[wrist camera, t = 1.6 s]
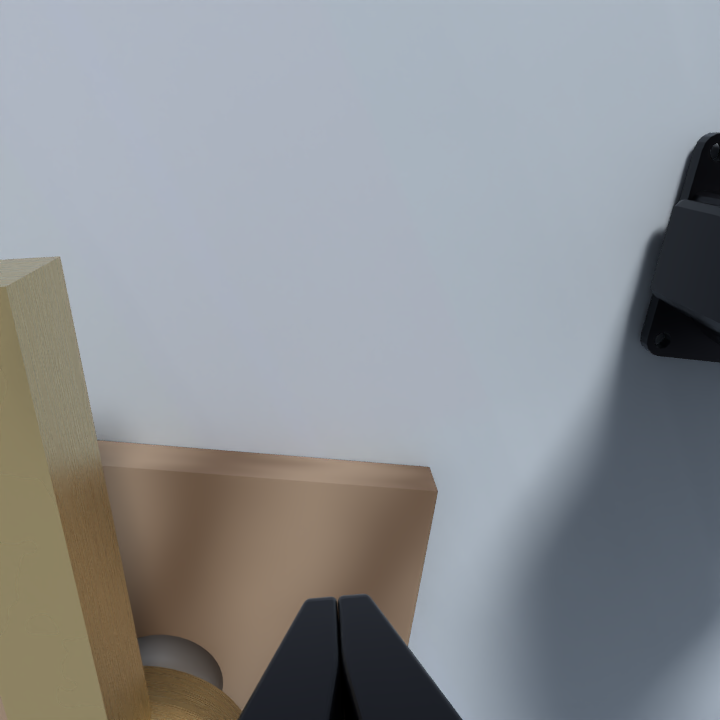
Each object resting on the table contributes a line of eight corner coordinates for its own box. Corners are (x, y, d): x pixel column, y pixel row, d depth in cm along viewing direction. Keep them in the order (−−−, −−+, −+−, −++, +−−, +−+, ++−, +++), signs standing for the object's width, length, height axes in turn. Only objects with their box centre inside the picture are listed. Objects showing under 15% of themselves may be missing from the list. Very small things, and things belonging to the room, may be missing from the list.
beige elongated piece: (263, 814, 21) (253, 966, 17) (56, 836, 21) (0, 995, 17) (185, 237, 15) (143, 278, 11) (-115, 254, 14) (-266, 302, 11)
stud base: (429, 467, 22) (452, 533, 18) (364, 813, 27) (372, 916, 23) (-93, 424, 20) (-178, 489, 16) (-52, 805, 25) (-110, 915, 22)
